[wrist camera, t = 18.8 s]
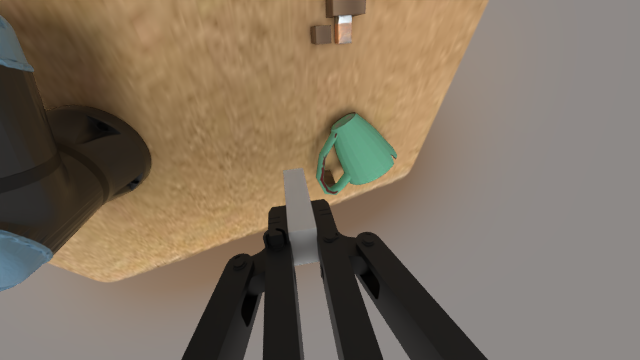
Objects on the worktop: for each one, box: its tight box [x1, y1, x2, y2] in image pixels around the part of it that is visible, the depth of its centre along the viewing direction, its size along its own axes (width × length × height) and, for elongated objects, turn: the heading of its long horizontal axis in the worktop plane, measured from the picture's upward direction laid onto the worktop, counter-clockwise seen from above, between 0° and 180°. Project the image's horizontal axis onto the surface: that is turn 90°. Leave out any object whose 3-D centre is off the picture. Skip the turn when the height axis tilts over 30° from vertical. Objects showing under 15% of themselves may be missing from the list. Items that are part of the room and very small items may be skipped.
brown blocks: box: [311, 0, 366, 188], centre depth 38 cm, size 7×32×5 cm, turn 4°
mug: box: [316, 113, 397, 195], centre depth 40 cm, size 15×10×10 cm
